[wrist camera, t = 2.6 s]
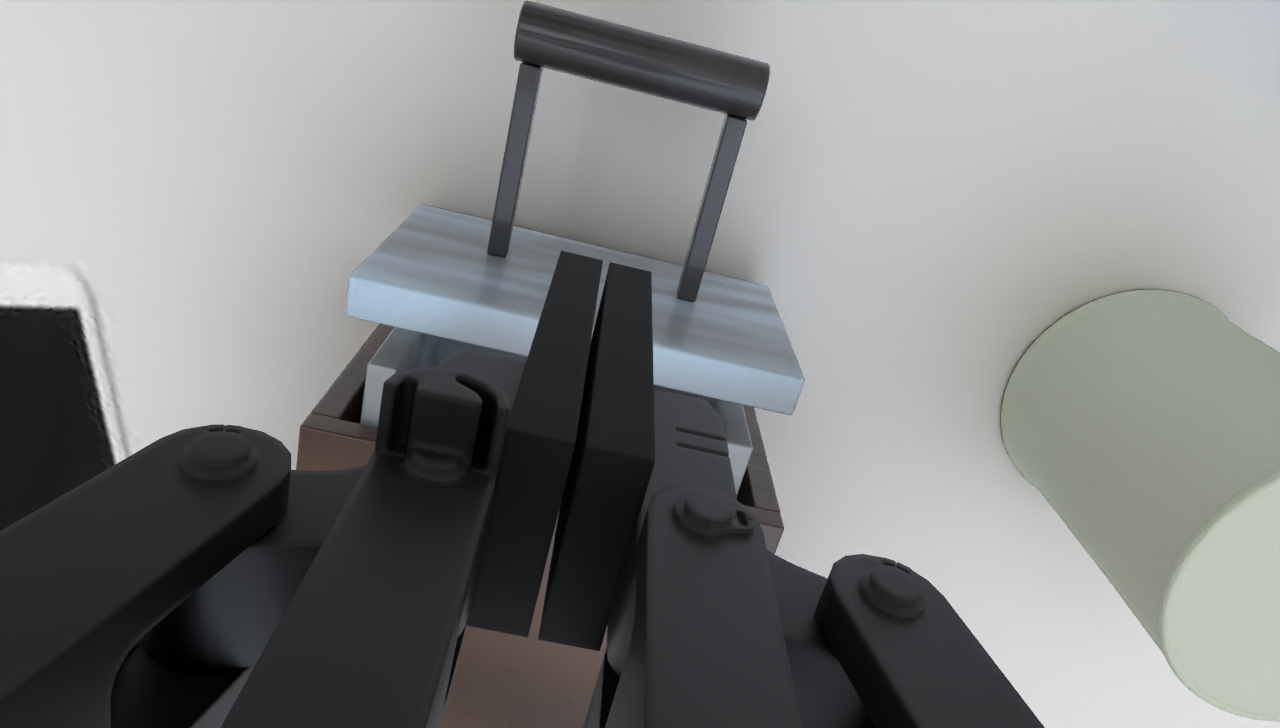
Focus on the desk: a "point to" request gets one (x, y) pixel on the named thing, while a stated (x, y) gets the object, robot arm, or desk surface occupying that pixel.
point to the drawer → (526, 260)
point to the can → (1166, 477)
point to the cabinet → (524, 666)
